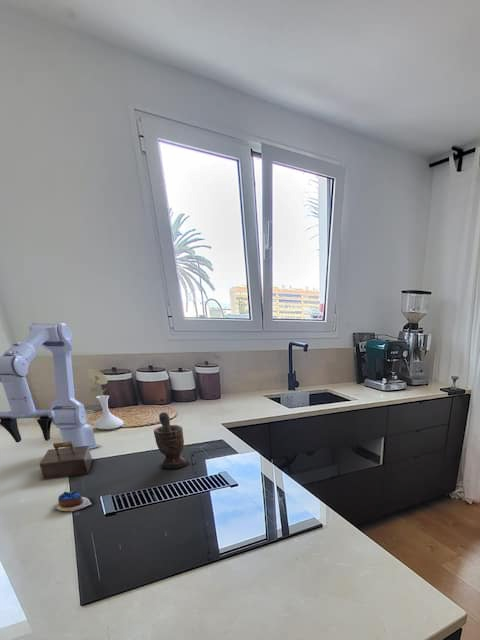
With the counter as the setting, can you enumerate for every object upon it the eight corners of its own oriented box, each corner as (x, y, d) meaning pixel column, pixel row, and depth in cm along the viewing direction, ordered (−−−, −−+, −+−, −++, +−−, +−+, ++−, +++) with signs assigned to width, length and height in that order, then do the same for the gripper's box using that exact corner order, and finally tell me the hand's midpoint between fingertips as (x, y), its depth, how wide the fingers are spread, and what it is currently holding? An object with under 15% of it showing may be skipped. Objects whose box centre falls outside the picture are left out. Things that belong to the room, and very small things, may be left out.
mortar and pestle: (195, 468, 132) (186, 410, 124) (168, 475, 127) (157, 414, 119) (182, 459, 140) (173, 403, 132) (157, 464, 135) (145, 407, 127)
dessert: (47, 506, 104) (56, 485, 105) (71, 510, 110) (79, 490, 111) (67, 514, 101) (77, 493, 102) (90, 518, 107) (99, 497, 108)
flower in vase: (130, 427, 174) (117, 369, 164) (103, 433, 165) (88, 372, 155) (114, 422, 180) (101, 366, 170) (87, 427, 171) (72, 369, 161)
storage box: (52, 464, 132) (48, 452, 130) (92, 460, 137) (88, 447, 135) (44, 479, 121) (39, 465, 119) (87, 473, 126) (84, 460, 124)
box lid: (48, 451, 131) (44, 438, 129) (89, 447, 136) (85, 434, 134) (39, 465, 119) (35, 452, 117) (84, 460, 124) (80, 447, 122)
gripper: (-18, 401, 112) (-1, 446, 118) (42, 399, 116) (55, 442, 122) (-5, 396, 118) (10, 439, 124) (51, 394, 123) (63, 436, 128)
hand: (33, 440), depth 123 cm, fingers open, 7 cm apart
